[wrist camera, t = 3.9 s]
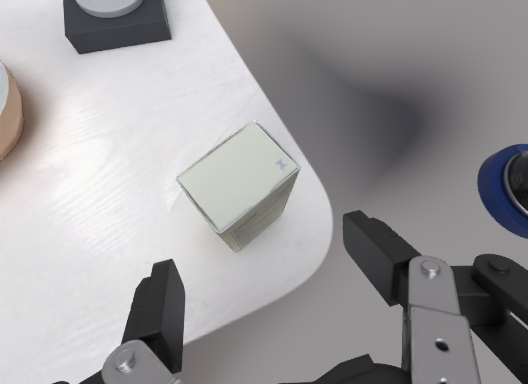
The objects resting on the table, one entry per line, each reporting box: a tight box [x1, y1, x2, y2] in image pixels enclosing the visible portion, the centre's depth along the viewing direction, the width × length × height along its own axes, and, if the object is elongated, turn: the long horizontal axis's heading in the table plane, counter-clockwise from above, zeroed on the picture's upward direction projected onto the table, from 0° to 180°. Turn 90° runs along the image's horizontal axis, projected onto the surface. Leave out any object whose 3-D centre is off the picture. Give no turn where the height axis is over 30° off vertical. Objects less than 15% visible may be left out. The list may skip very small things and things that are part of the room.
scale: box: [63, 0, 171, 54], centre depth 33 cm, size 11×11×3 cm
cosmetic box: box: [176, 121, 300, 252], centre depth 21 cm, size 6×4×12 cm
